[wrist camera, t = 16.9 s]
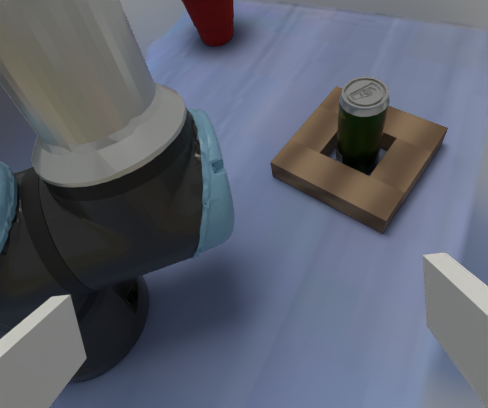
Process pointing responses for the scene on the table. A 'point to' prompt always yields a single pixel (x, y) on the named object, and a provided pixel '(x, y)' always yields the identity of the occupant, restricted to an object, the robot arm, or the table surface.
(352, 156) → the beer can
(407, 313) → the table surface
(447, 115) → the table surface
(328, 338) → the table surface
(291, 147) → the socket block
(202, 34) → the plastic cup
